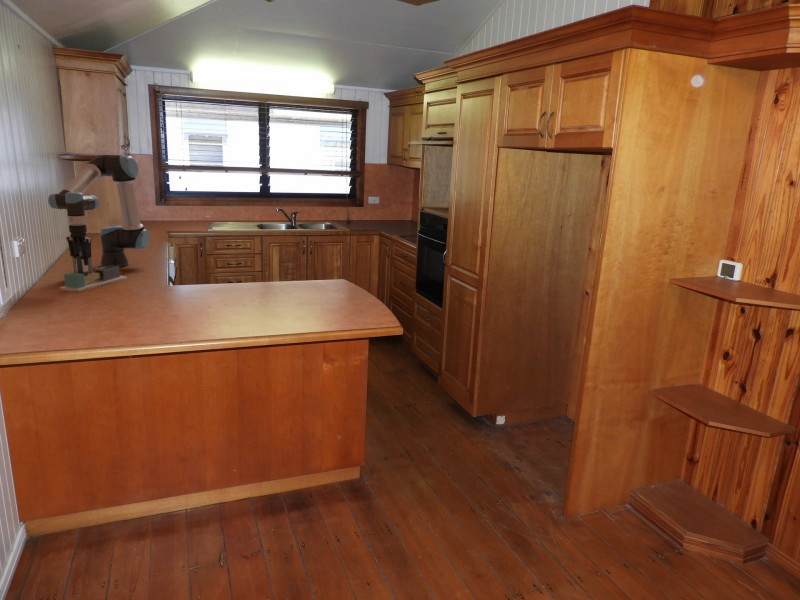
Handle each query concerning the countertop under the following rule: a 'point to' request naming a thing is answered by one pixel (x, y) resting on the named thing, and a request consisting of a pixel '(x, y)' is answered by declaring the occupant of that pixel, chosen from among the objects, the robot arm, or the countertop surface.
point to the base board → (94, 284)
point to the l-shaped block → (87, 276)
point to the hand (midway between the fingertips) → (82, 271)
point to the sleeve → (108, 272)
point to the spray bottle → (90, 269)
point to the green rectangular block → (74, 280)
